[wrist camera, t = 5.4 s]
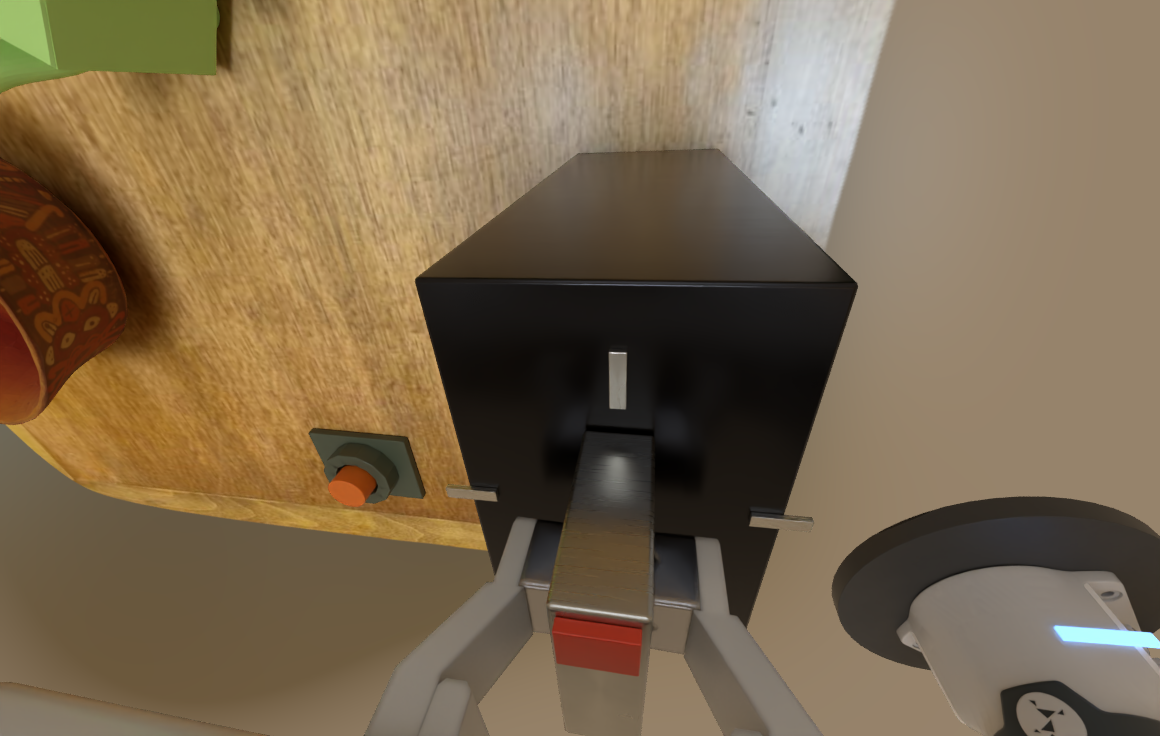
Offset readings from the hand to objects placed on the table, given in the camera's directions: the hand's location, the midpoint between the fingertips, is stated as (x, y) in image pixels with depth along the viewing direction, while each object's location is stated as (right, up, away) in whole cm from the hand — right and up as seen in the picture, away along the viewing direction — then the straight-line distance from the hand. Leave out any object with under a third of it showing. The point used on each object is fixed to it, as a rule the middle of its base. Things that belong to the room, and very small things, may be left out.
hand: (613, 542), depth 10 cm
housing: (-22, -5, +33) cm, 40 cm away
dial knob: (0, +1, +1) cm, 1 cm away
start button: (-22, -7, +32) cm, 39 cm away
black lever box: (+3, +11, +17) cm, 21 cm away
